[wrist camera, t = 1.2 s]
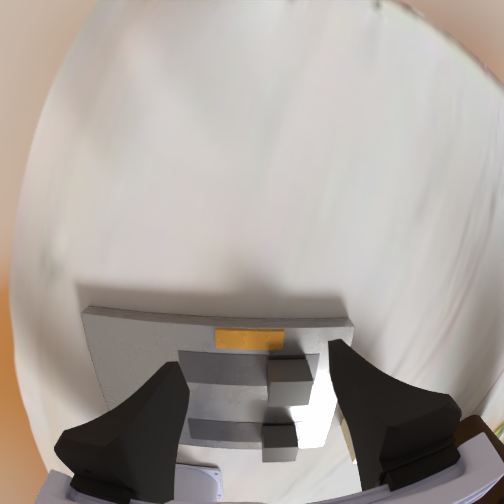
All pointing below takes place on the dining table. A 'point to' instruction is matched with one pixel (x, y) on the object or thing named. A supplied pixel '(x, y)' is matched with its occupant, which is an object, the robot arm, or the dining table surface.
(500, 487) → the olive oil
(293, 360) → the breaker tagged
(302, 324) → the panel
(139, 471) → the robot arm
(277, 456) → the block
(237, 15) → the dining table surface
